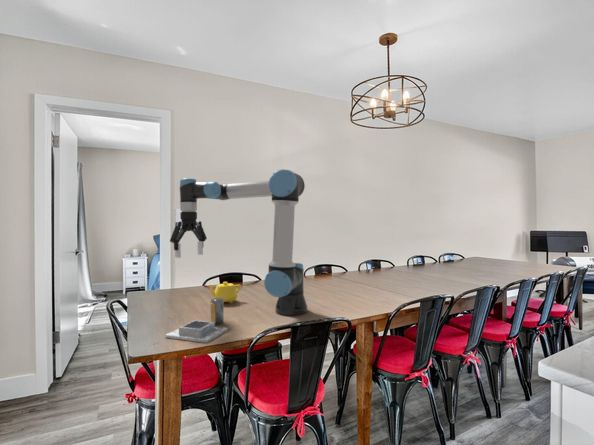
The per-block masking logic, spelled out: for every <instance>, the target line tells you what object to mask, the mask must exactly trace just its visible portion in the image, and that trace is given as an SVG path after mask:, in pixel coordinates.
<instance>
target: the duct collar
mask: <svg viewBox="0 0 594 445" xmlns="http://www.w3.org/2000/svg"><path fill="white" fill-rule="evenodd" d="M227 331H228V327H222V326H216V325H215V322H211V321H206V320H197V319H194V320H191V321H190V322H187V323H185V324H183V325H181V326H179V327H178V328H177V329H174V330H173V331H170V332H167V333H166V334H165V335H164V338H167V339H172V340H179V341H180V340H182V341H189V342H197V343H205V344H208V343H210V341H213V340H214V339H216V338H217V337H219V336H220V335H223V334H224V333H226V332H227Z"/></svg>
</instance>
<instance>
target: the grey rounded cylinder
mask: <svg viewBox="0 0 594 445" xmlns="http://www.w3.org/2000/svg"><path fill="white" fill-rule="evenodd" d="M224 312H225V311H224V303H223V298H214V297H213V298H211V299H210V322H215V326H220V325H223V324H224V321H225V319H224V316H225V315H224V314H225V313H224Z"/></svg>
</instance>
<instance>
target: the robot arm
mask: <svg viewBox="0 0 594 445" xmlns="http://www.w3.org/2000/svg"><path fill="white" fill-rule="evenodd" d="M179 181H180V182H179V195H180V199H179V200H180V202H179V205H180V206H179V207H180V216H179V217H180V220H181V221H175V226H174V228H173V231H172V233H171V234H172V235H171V236H170V239H169V242H170V243H172V244H173V250H174V255H175V256H174V258H180V259H181V255H182V254H181V252H182V251H181V243H180V242H181V239H183V237H184V236H185V234H186V233H187V232H192V233H193V235H195V237H196V239H197V255H199V256H200V255H202V256H203V255H204V254H203V253H204V251H203V250H204V242H206V240H207V238H208V237H207V236H206V233H205V231H204V230H205V229H204V228H203V225H202V221H199V220H197V219H198V212H197V210H198V199H211V200H220V201H227V200H238V199H248V198H249V199H250V198H251V199H252V198H266V197H271V202H272V203H273V204H274V216H273V218H274V220H273V241H272V242H273V245H272V260H271V261H270V262H269V263H268V271H267V272H268V273H267V274H266V275H265V277H264V279H263V280H264V281H263V282H264V283H263V284H264V287H265V290H266V291H267V293H268V294H269V295H271V296H273V297H276V298H277V301H276V304H275V313H276V314H279V315H283V316H300V315H303V314H306V313H307V312H308V304H307V301H306V299H305V295H304V294H305V292H304V271H305V270H304V264H303V263H302V262H293V250H294V229H295V227H294V226H295V208H296V206H297V204H298V203H299V199H300V198H299V197H300V196H301V195H302V194H303V193H304V191H305V187H306V186H305V185H306V184H305V181H304V179H303V177H302V176H301V175H299V174H298V173H296V172H294V171H292V170H289V169H279V170H276V171H274V172H273V173H272V174H271V175H270V177H269V179H268V180H263V181H261V180H260V181H252V182H249V181H248V182H239V183H237V182H236V183H226V184H225V183H223V184H219V182H217V181H203V182H202V181H201V182H197V179H195V178H190V177H189V178H187V177H186V178H185V177H184V178H182V179H180V180H179Z"/></svg>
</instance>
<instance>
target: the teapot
mask: <svg viewBox="0 0 594 445" xmlns="http://www.w3.org/2000/svg"><path fill="white" fill-rule="evenodd" d="M206 285H207V286H208V287H209V289H210V295H211V296H212V297H213V299H214V298H223V304H224V303H229V304H234V302H235V301H237V298H238V295H237V294H238V293H239V292H240V291H241V288H242V285H241V284H233V283H231V282H230V283H228V281H223V282H222V283H218V284H216V287H215V290H214V287H213V285H212V284H208V283H207V284H206ZM236 287H237V289H236Z"/></svg>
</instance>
